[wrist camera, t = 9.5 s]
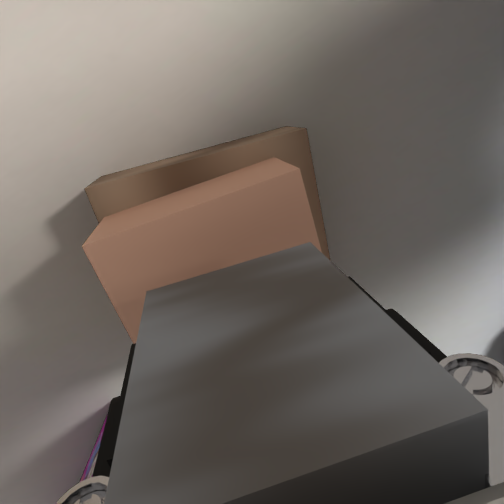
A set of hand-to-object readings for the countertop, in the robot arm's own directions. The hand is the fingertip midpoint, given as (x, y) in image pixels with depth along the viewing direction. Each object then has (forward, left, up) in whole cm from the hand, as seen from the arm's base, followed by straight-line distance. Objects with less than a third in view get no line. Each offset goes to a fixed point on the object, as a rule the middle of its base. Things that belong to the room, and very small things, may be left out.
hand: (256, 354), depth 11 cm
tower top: (0, 0, -8) cm, 8 cm away
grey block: (0, 0, -1) cm, 1 cm away
